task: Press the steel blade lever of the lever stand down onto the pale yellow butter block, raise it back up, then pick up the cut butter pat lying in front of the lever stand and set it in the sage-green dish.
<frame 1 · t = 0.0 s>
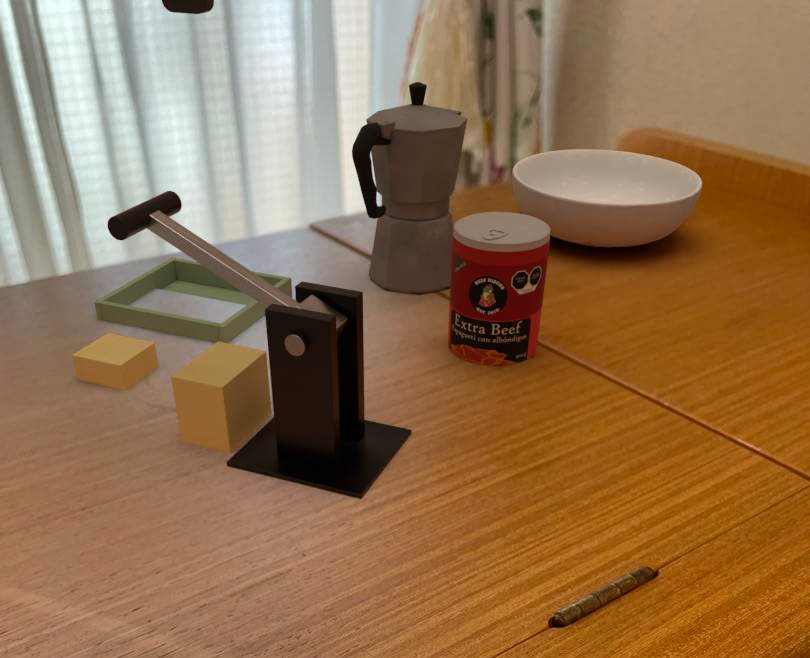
hand: (239, 1, 41), 28 cm above the table, tool pointing down, fingers open, 8 cm apart
canned food: (491, 356, 75), on the table
coffeepot: (407, 282, 89), on the table
butter: (229, 437, 64), on the table
lever stand: (322, 459, 62), on the table
butter pat: (121, 382, 70), on the table
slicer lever: (235, 273, 55), point 13 cm above the table, hinge at 25.0°
serving bowl: (597, 236, 101), on the table
dish: (199, 315, 81), on the table
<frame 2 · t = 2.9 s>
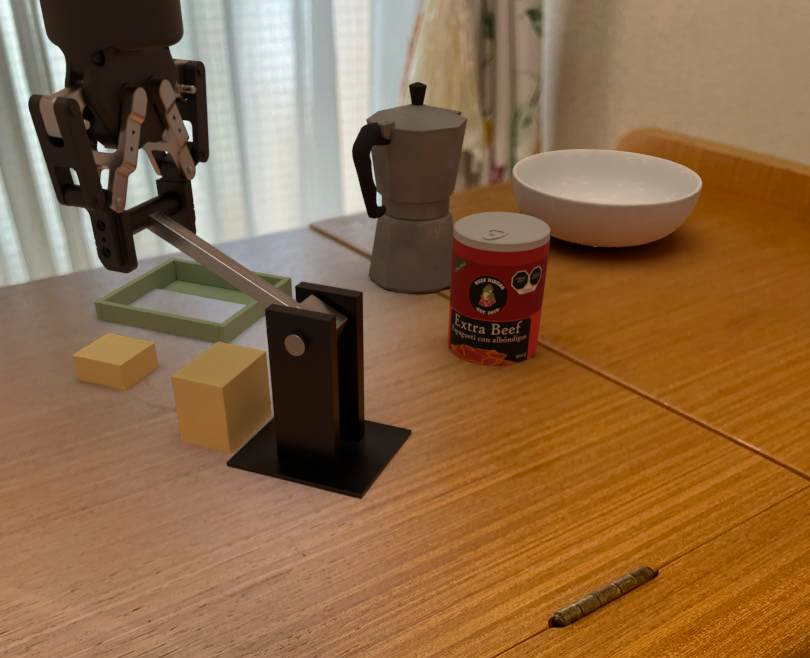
hand: (151, 252, 57), 13 cm above the table, tool pointing down, fingers closed on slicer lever, 6 cm apart
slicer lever: (235, 273, 55), point 13 cm above the table, hinge at 25.0°, touching gripper
everything else where it was.
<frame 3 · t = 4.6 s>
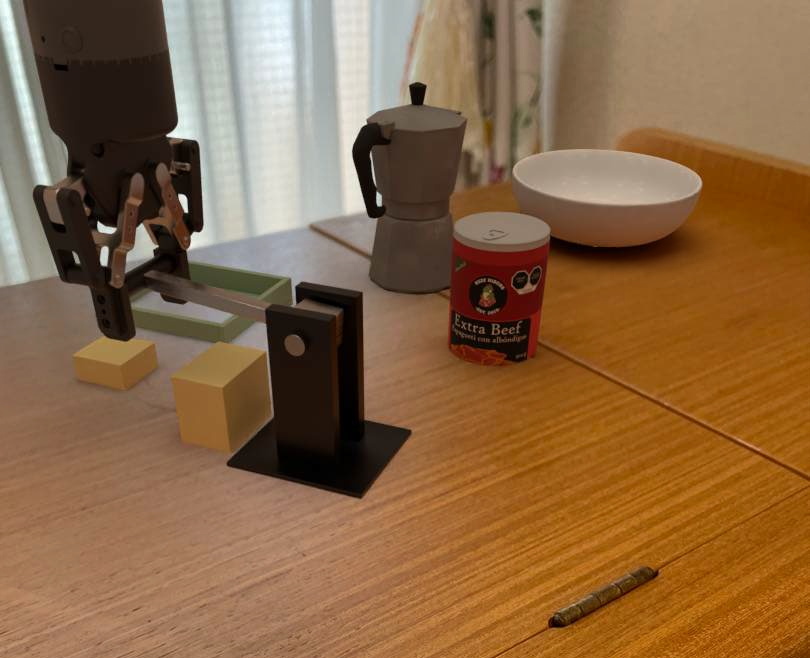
hand: (149, 318, 60), 8 cm above the table, tool pointing down, fingers open, 6 cm apart
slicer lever: (231, 302, 57), point 11 cm above the table, hinge at 5.4°
everything else where it was.
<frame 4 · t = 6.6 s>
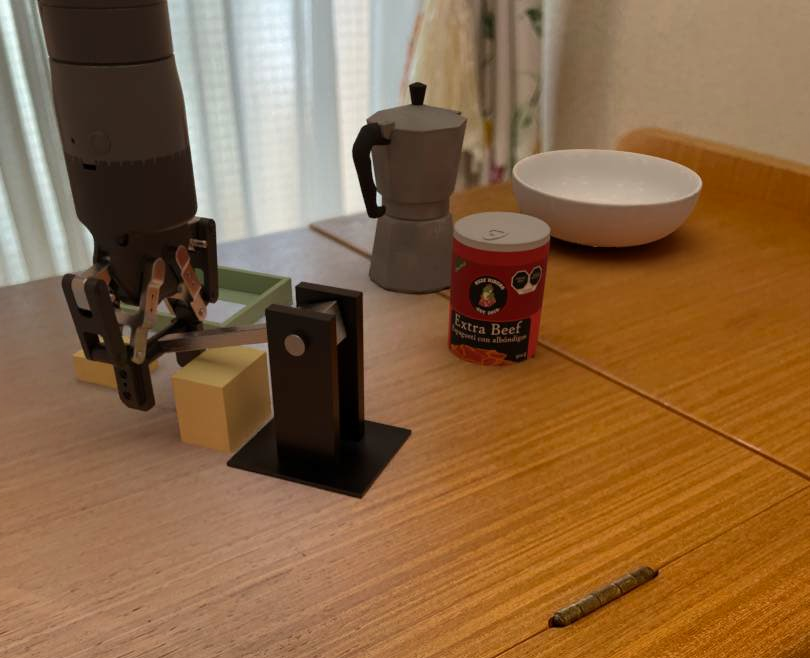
hand: (167, 386, 63), 3 cm above the table, tool pointing down, fingers closed on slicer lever, 6 cm apart
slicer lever: (237, 335, 58), point 8 cm above the table, hinge at -15.9°, touching gripper
everything else where it was.
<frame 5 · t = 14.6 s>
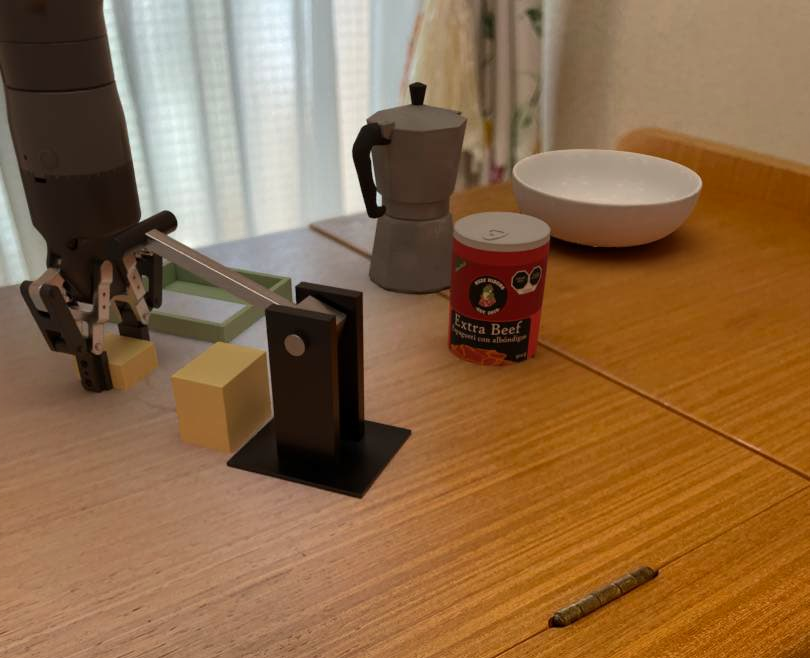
hand: (120, 379, 70), 0 cm above the table, tool pointing down, fingers closed on butter pat, 4 cm apart
butter pat: (121, 382, 70), on the table, touching gripper
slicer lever: (233, 282, 56), point 12 cm above the table, hinge at 18.8°
everything else where it was.
when the fingers open (1 cm above the table, at t = 21.5 s): butter pat stays where it is, resting on dish.
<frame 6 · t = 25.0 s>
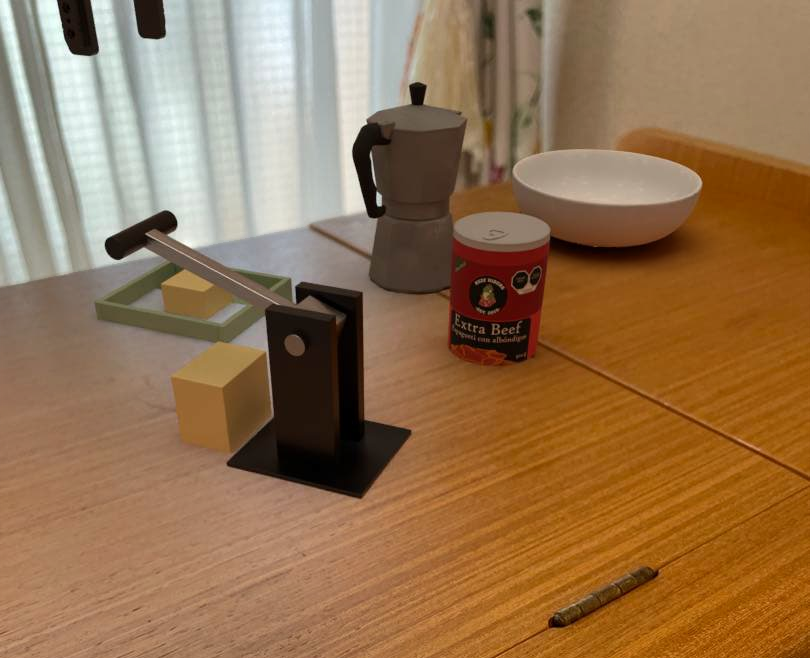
hand: (120, 46, 67), 22 cm above the table, tool pointing down, fingers open, 8 cm apart
butter pat: (200, 310, 81), resting on dish
everything else where it was.
at the end: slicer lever reached -16° during the clip, +19° at the end; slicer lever at +19° (first picture: +25°); butter pat inside the target area in the dish (0.1 cm from its centre), point 0.5 cm above the dish's base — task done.
